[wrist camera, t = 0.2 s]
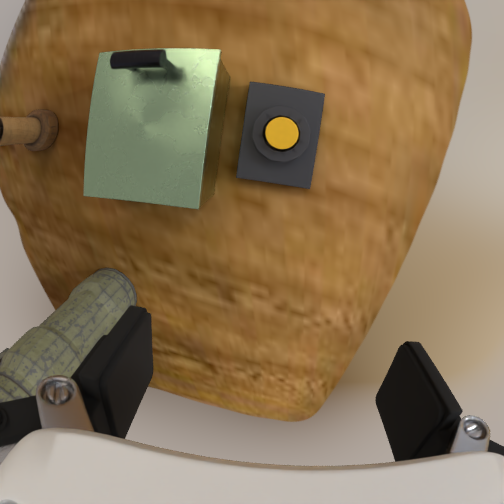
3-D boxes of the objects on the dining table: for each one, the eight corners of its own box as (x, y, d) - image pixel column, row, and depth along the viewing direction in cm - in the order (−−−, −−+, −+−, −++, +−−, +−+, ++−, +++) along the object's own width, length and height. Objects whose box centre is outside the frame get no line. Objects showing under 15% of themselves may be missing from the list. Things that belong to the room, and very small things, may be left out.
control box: (250, 85, 35) (249, 78, 31) (321, 96, 35) (327, 91, 31) (237, 176, 39) (234, 179, 35) (307, 186, 39) (312, 191, 35)
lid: (102, 54, 26) (77, 43, 21) (221, 51, 26) (212, 34, 21) (86, 194, 31) (60, 204, 26) (200, 207, 31) (187, 220, 26)
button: (267, 116, 33) (267, 114, 31) (299, 121, 33) (300, 120, 31) (263, 146, 34) (263, 146, 32) (294, 151, 34) (295, 151, 32)
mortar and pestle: (51, 101, 36) (-35, 96, 19) (63, 135, 37) (-25, 141, 20) (25, 125, 37) (-58, 131, 20) (37, 158, 39) (-48, 174, 22)
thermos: (147, 323, 47) (42, 515, 14) (85, 309, 47) (-40, 459, 14) (146, 273, 44) (-2, 468, 11) (80, 261, 44) (-81, 402, 11)
